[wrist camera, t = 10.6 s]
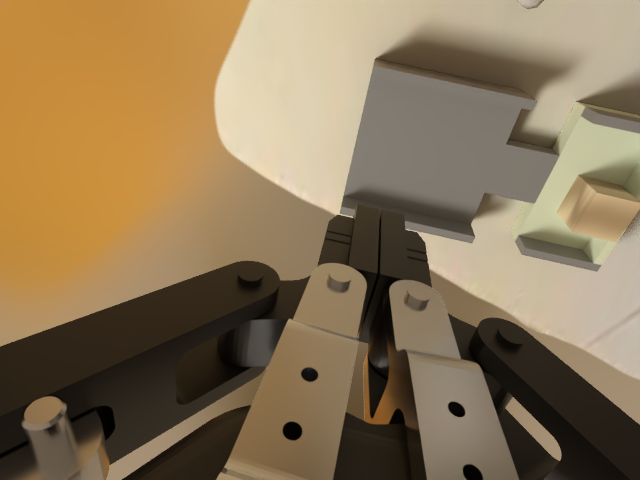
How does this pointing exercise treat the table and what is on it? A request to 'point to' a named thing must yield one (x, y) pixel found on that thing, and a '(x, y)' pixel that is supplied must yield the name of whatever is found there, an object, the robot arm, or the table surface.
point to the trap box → (483, 160)
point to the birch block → (598, 208)
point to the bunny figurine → (530, 3)
